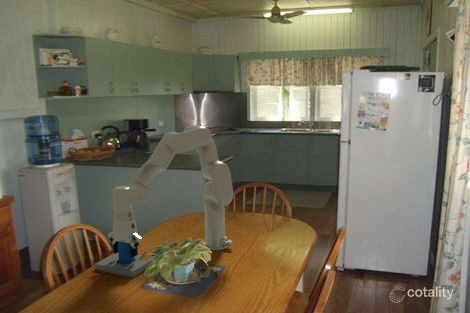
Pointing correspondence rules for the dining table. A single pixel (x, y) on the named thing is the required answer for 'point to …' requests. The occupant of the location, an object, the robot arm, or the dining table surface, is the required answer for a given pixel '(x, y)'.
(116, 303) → the dining table surface
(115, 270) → the socket board
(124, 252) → the beverage can
